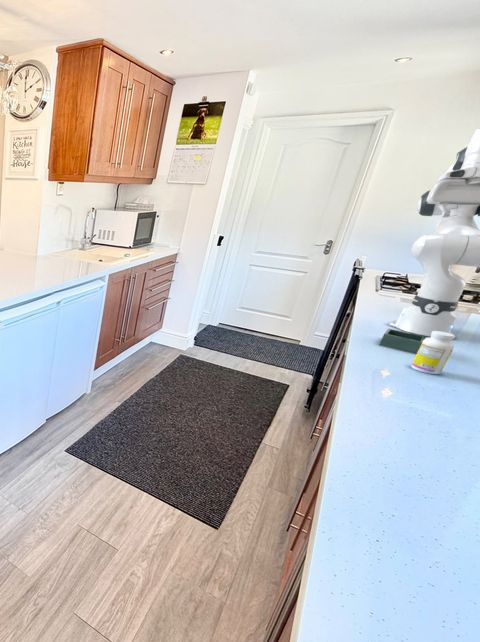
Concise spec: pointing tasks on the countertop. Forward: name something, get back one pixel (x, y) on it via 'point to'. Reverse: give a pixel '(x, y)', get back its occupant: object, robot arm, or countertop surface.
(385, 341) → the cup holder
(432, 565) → the countertop surface
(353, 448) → the countertop surface
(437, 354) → the supplement bottle
